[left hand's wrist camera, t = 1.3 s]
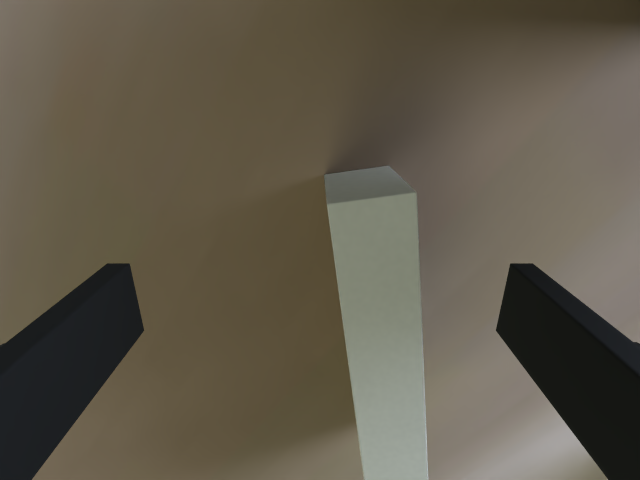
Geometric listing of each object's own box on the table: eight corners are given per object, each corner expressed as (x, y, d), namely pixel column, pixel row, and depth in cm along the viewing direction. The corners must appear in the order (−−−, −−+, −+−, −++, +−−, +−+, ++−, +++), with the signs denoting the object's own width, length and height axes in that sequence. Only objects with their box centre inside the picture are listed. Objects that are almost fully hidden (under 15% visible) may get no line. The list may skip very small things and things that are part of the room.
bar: (323, 174, 30) (326, 203, 21) (388, 165, 29) (417, 191, 21) (355, 412, 39) (366, 495, 31) (404, 406, 39) (428, 489, 31)
